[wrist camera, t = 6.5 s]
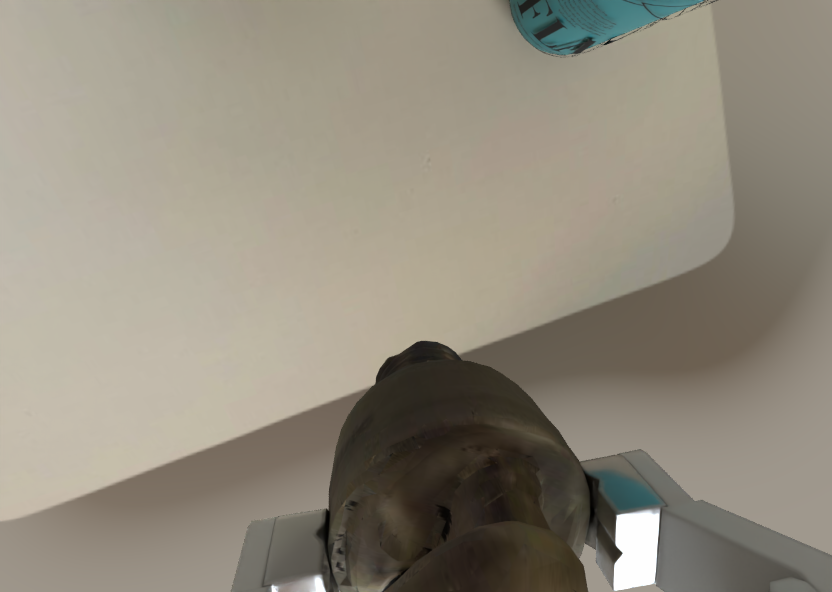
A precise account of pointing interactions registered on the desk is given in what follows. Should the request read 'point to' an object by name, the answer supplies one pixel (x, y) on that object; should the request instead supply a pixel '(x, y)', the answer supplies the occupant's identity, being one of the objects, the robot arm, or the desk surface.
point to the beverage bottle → (586, 21)
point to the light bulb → (454, 485)
